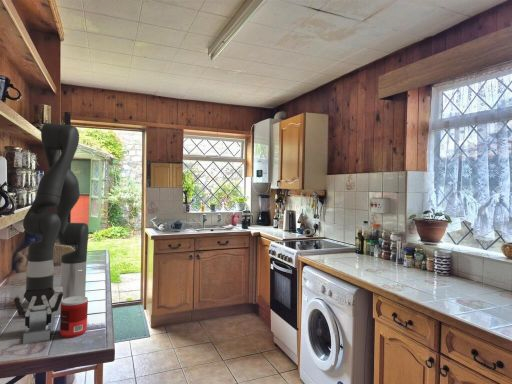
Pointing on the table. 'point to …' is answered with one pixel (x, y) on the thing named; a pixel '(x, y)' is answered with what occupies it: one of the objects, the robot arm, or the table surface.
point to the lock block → (38, 319)
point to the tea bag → (53, 301)
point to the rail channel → (36, 336)
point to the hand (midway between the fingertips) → (38, 325)
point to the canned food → (73, 316)
